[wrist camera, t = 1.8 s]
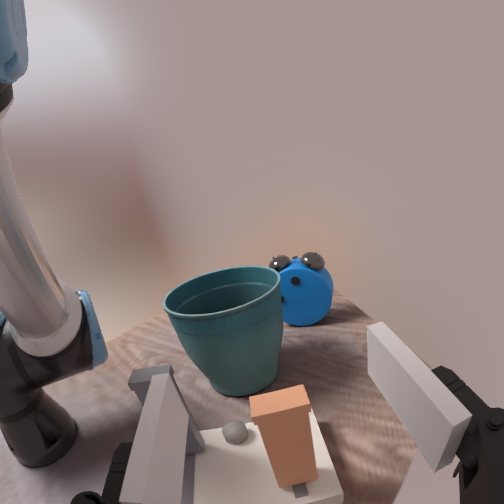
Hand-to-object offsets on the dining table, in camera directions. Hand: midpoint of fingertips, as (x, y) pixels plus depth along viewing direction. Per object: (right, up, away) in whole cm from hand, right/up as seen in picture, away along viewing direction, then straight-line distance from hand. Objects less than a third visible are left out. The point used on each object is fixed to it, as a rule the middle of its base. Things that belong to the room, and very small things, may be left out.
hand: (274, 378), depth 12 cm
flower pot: (-2, -16, +37) cm, 41 cm away
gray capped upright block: (-9, -19, +18) cm, 28 cm away
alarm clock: (+11, -9, +51) cm, 53 cm away
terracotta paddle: (+4, -18, +12) cm, 22 cm away
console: (-2, -21, +16) cm, 27 cm away
